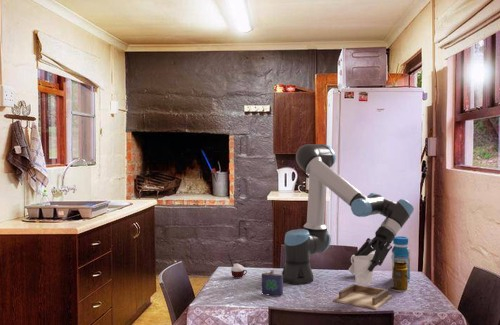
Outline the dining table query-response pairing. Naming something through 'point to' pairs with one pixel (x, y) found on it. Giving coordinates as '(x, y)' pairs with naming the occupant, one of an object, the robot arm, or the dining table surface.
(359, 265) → the white cup
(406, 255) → the beverage bottle
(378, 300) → the dock
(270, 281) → the flask
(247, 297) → the dining table surface
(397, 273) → the condiment
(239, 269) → the cocoa
